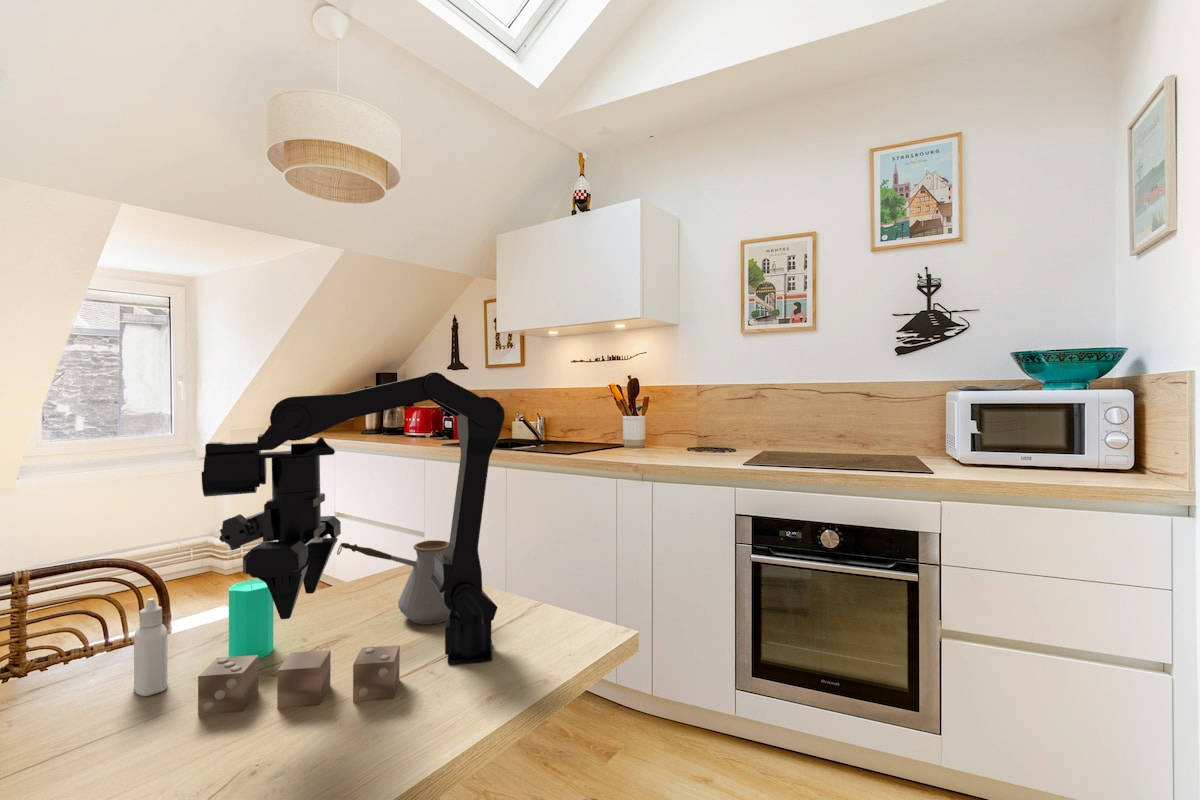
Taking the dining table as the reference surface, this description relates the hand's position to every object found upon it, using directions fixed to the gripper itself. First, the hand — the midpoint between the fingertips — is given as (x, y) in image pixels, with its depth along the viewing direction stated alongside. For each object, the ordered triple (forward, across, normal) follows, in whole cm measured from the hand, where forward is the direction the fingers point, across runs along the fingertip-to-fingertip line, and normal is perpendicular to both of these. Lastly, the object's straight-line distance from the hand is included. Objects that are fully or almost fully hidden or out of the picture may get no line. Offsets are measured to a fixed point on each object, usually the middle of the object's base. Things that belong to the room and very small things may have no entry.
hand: (298, 605), depth 77 cm
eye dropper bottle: (+11, -3, -20) cm, 23 cm away
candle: (+11, -12, -11) cm, 20 cm away
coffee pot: (+12, -22, +10) cm, 27 cm away
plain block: (+12, +2, +1) cm, 12 cm away
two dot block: (+12, +2, +10) cm, 16 cm away
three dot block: (+11, +3, -8) cm, 14 cm away
